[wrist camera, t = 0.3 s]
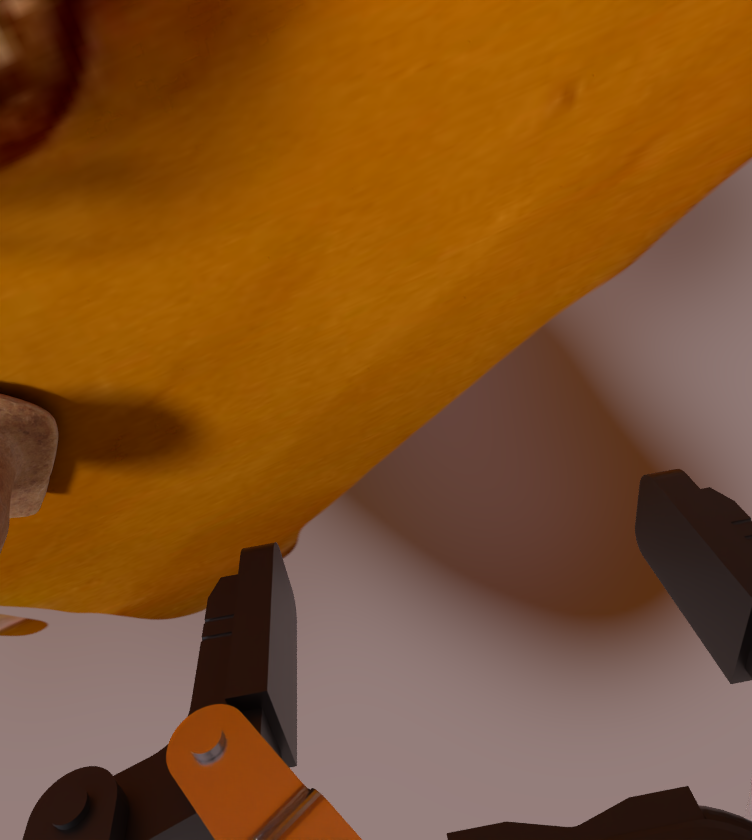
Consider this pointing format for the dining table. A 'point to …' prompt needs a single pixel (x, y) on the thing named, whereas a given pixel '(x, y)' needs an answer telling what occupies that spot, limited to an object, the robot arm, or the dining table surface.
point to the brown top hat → (24, 458)
